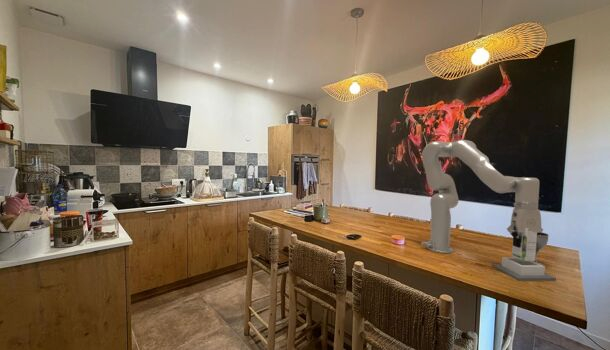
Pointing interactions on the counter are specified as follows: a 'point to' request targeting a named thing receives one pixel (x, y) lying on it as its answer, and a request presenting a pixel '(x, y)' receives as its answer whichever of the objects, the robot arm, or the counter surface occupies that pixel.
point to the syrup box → (526, 246)
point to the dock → (523, 269)
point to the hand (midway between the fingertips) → (523, 246)
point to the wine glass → (541, 244)
